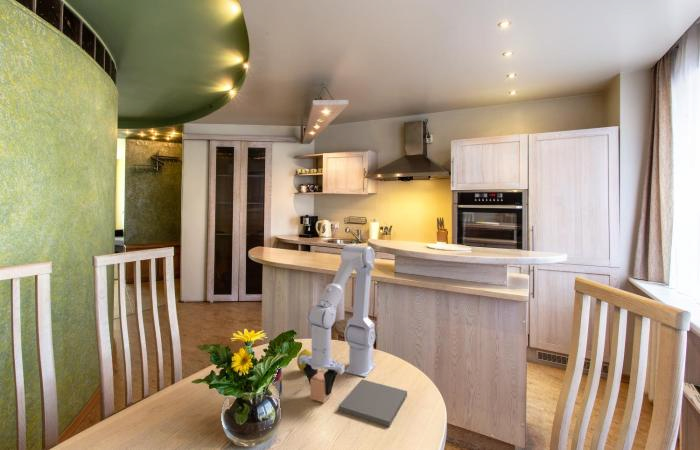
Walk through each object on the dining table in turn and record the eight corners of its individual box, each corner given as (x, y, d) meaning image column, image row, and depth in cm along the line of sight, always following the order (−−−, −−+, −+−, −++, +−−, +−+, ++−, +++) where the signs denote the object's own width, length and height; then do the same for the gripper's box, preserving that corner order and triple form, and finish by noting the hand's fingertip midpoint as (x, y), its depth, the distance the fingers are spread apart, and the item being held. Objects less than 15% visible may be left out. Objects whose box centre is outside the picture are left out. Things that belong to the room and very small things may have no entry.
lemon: (316, 371, 115) (316, 348, 114) (306, 377, 110) (306, 354, 109) (304, 366, 117) (304, 344, 117) (293, 373, 113) (293, 350, 112)
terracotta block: (318, 390, 101) (318, 371, 101) (331, 394, 99) (331, 375, 99) (310, 398, 97) (310, 378, 97) (323, 402, 95) (324, 382, 95)
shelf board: (361, 383, 106) (361, 379, 106) (407, 395, 100) (407, 391, 100) (338, 411, 92) (338, 405, 92) (389, 427, 86) (389, 421, 85)
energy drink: (277, 401, 97) (277, 361, 96) (260, 398, 98) (260, 359, 97) (284, 391, 102) (284, 353, 101) (268, 389, 103) (268, 351, 102)
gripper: (293, 346, 97) (293, 391, 98) (336, 357, 91) (336, 405, 91) (306, 338, 103) (306, 380, 104) (347, 347, 97) (347, 392, 98)
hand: (321, 391), depth 98 cm, fingers closed on terracotta block, 5 cm apart
